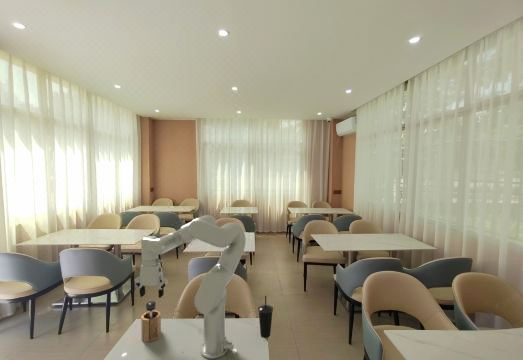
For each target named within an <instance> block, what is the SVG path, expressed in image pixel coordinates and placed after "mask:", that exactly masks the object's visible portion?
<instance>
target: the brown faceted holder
mask: <svg viewBox="0 0 523 360" xmlns="http://www.w3.org/2000/svg"><path fill="white" fill-rule="evenodd" d="M161 317H162V315H161V312H160V310H155V309H154V310H152V318H151V319H150V311H146V312H144V313H143V314H142V315H141V316H140V318H141V320H140V323H141V324H140V325H141V327H140V329H141V330H140V331H141V341H142V342H143V343H152V342H155V341H158V340H159V338H161V334H162V330H161V329H162V323H161V321H162V319H161Z"/></svg>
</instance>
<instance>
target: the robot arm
mask: <svg viewBox="0 0 523 360" xmlns="http://www.w3.org/2000/svg"><path fill="white" fill-rule="evenodd" d="M246 239H247V238H246V233H245V231H244V229H243V228H242V227H241V225H239V224H238V223H237V222H227V223H225V224H223V225H222V226H218V225H217V220H216V219H215V217H214V216H213V215H210V214H209V215H208V214H205V215H202V216H200V217H196V218H195V219H192V221H189V222H187V223H186V224H184V225H181V227H180V228H179V229H177V230H175V231H173V232H170V233H169V234H165V235H162V236H161V237H157V236H156V235H148V236H144V237H142V238H141V239H140V240H141V241H140V244H141V245H140V246H141V248H140V250H141V251H140V252H141V265H140V270H139V276H137V277H136V278H134V282H135V285H136V286H137V288H138V289H139V297H140V298H142V297H144V296H145V295H146V287H145V286H147V287H149V286H151V287H157V288H158V293H157V294H158V298H159V299H161V298H162V297H163V296H164V288H165V287H166V286H167V284H168V282H169V279H168V278H166V277H164V275H163V274H164V272H163V269H162V264H161V263H162V260H161V259H160V257H159V255H163V254H165V253H167V252H169V251H171V250H173V249H176V248H177V247H179V246H181V245H184V244H186V243H193V242H194V241H196V240H198V241H201V242H203V243H205V244H209V245H210V246H213V247H216V248H219V249H220V248H223V250H222V253H221V254H220V256H219V259H218V261H217V263H216V264H215V265H214V266H213V267H212V268H211V269H209V270H208V271H207V273H206V274H205V275H204V277H203V279H202V281H201V283H200V286H199V287H198V290H197V292H196V294H195V296H194V303H193V304H194V306H195V307H194V308H195V310H196V311H197V313H200V314H202V315H203V343H202V344H201V346H200V354H201V355H202V356H203V357H204V358H207V359H211V360H213V359H218V358H221V357H223V356H224V355H226V353H227V352H228V350H234V347H235V345H234V344H233V340H232V341H230V340H229V341H228V340H227V338H228V337H227V336H226V335H225V334H226V329H225V328H226V324H225V323H226V317H225V316H226V312H225V311H226V301H227V300H226V299H227V287H226V286H228V284H229V283H230V282H231V280H233V276H234V273H235V271H236V269H237V267H238V265H239V263H240V260H241V259H242V256H243V253H244V251H245V249H246V248H245V247H246V243H247V242H246Z"/></svg>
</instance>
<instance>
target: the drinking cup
mask: <svg viewBox="0 0 523 360" xmlns="http://www.w3.org/2000/svg"><path fill="white" fill-rule="evenodd" d="M257 311H258V319H259V320H258V321H259V329H260V330H259V331H260V332H259V333H260V336H261V338H265V339H267V338H266V337H268V338H270V336H271V332H272V322H273V321H272V320H273V319H272V318H273V312H274V307H273V306H272V305H270V304H267V295H265V296H264V304H261V305H259V306H258V308H257Z"/></svg>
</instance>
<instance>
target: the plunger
mask: <svg viewBox="0 0 523 360" xmlns="http://www.w3.org/2000/svg"><path fill="white" fill-rule="evenodd" d="M156 305H157V303H156V301H153V300H151V301H148V302H146V303H145V310H146V312H148V311H150V319H151V318H152V311H153V310H155V309H156Z"/></svg>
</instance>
